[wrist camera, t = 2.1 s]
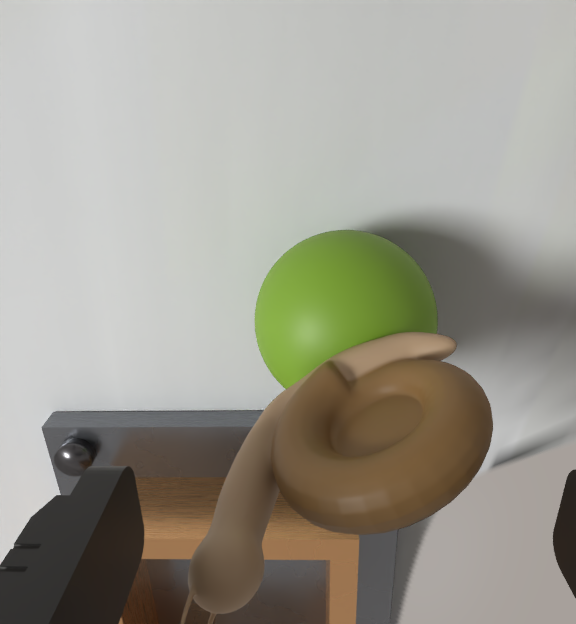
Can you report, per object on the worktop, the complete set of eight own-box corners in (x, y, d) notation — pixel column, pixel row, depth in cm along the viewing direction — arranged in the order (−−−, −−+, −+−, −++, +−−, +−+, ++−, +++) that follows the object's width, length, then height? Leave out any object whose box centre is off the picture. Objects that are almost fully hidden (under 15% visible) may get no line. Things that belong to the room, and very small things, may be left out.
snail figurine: (209, 271, 18) (52, 581, 7) (375, 180, 16) (525, 388, 5) (285, 386, 19) (261, 775, 9) (440, 315, 18) (650, 672, 7)
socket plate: (53, 411, 20) (-2, 484, 17) (401, 409, 20) (424, 483, 16) (119, 657, 27) (90, 747, 23) (381, 661, 26) (394, 753, 23)
